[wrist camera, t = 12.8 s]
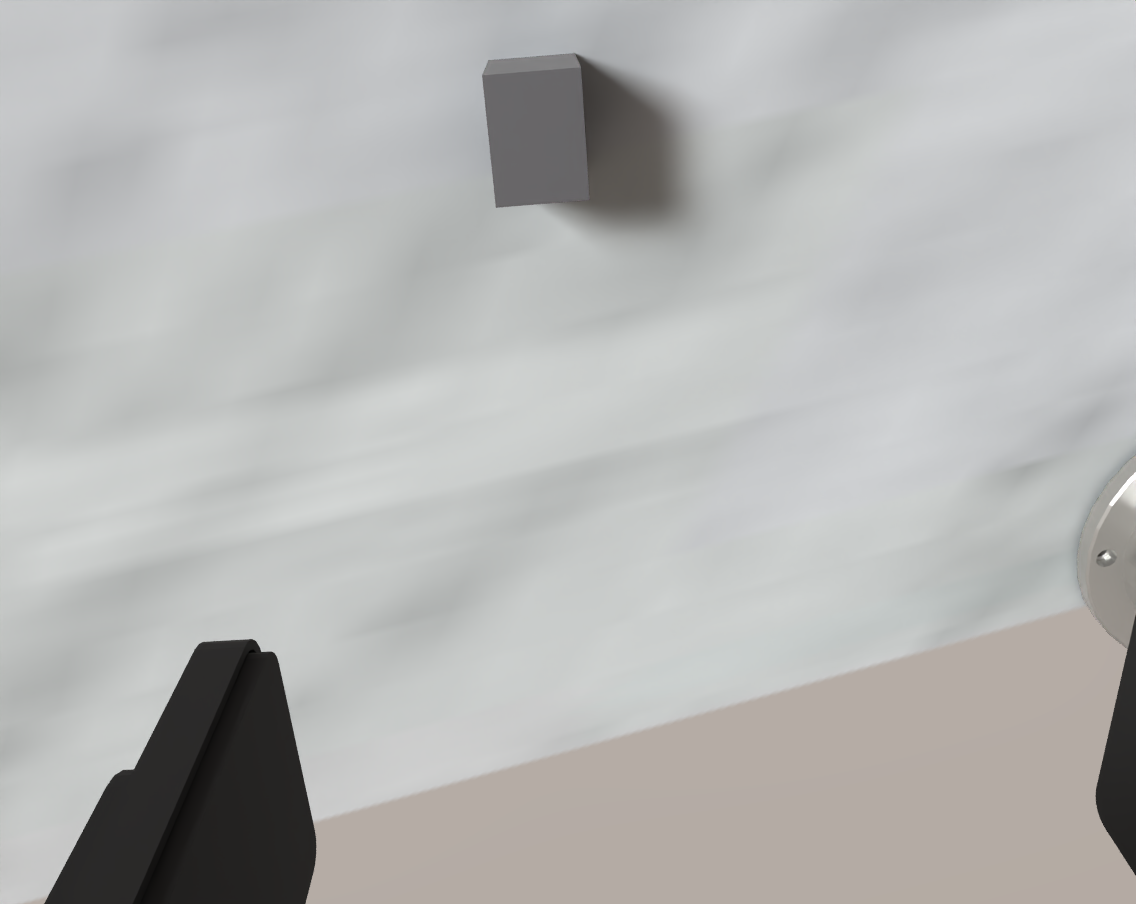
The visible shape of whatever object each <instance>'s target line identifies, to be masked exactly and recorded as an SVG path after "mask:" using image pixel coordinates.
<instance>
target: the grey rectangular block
mask: <svg viewBox="0 0 1136 904" xmlns="http://www.w3.org/2000/svg"><path fill="white" fill-rule="evenodd" d="M482 78H483V88H484V97H485V107H486V116H487V126H488V135H489V145H490V154H491V164H492V174H493V183H494V193H495V202H496V208H497V207H509V206H521V205H534V204H546V203H558V202H571V201H583V200H590V199H589V183H588V168H587V152H586V137H585V121H584V106H583V90H582V75H581V66H580V64H579V62H578V59H577V57H576V55H575V53H573V54H560V55H548V56H536V57H524V58H512V59H499V60H489V61H488V63H487V65H486V68H485V70H484V72H483V75H482Z"/></svg>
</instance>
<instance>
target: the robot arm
mask: <svg viewBox="0 0 1136 904" xmlns="http://www.w3.org/2000/svg"><path fill="white" fill-rule="evenodd" d="M1077 578H1078V581H1079V585H1080V589H1081V593H1082V597H1083V599H1084V601H1085V603H1086V604H1087V606H1088V608H1089V609H1090V611H1091V613H1092V615H1093V616H1094V617H1095V618H1096V620H1097V621H1098V622H1099V623H1100V624H1101V625H1102V627H1103V628H1104V629H1105V630H1106V632H1107V633H1108V634H1109V635H1110V636H1112V637H1113V638H1114V639H1115V640H1117V641H1118V642H1119V643H1120V644H1122V645H1123V646H1124V647H1125V648H1127V649H1128V650H1127V655H1126V659H1125V664H1124V668H1123V672H1122V677H1121V681H1120V686H1119V690H1118V695H1117V699H1116V703H1115V708H1114V712H1113V717H1112V721H1111V726H1110V730H1109V735H1108V739H1107V743H1106V748H1105V752H1104V757H1103V761H1102V765H1101V770H1100V774H1099V779H1098V783H1097V788H1096V805H1097V809H1098V813H1099V816H1100V819H1101V821H1102V823H1103V825H1104V827H1105V828H1106V830H1107V832H1108V833H1109V835H1110V836H1111V838H1112V839H1113V841H1114V843H1115V844H1116V845H1117V847H1118V849H1119V850H1120V852H1121V853H1122V855H1123V857H1124V858H1125V859H1126V861H1127V863H1128V864H1129V866H1130V867H1131V869H1132V870H1133V872H1134V874H1135V875H1136V455H1135V456H1134V457H1133V458H1131V459H1130V460H1129V461H1128V462H1127V463H1126V464H1125V465H1124V466H1123V467H1122V468H1121V469H1120V471H1119V472H1118V473H1117V474H1116V475H1115V476H1114V477H1113V478H1112V479H1111V480H1110V482H1109V483H1108V484H1107V485H1106V487H1105V488H1104V490H1103V492H1102V493H1101V495H1100V496H1099V498H1098V499H1097V501H1096V502H1095V504H1094V505H1093V507H1092V509H1091V511H1090V514H1089V516H1088V518H1087V521H1086V523H1085V525H1084V528H1083V530H1082V534H1081V539H1080V543H1079V548H1078V553H1077ZM315 858H316V836H315V830H314V825H313V820H312V816H311V811H310V806H309V802H308V797H307V792H306V788H305V783H304V778H303V774H302V769H301V765H300V760H299V755H298V751H297V746H296V741H295V737H294V732H293V727H292V723H291V718H290V714H289V709H288V704H287V700H286V695H285V690H284V686H283V681H282V676H281V672H280V667H279V663H278V659H277V657H276V655H275V653H273V652H261V650H260V647H259V645H258V644H257V642H256V641H255V640H253V639H249V640H231V641H213V642H202V643H200V644H199V645H198V646H197V647H196V649H195V650H194V652H193V654H192V656H191V658H190V660H189V662H188V664H187V666H186V668H185V670H184V672H183V674H182V676H181V678H180V680H179V682H178V684H177V686H176V688H175V690H174V692H173V694H172V696H171V698H170V700H169V702H168V704H167V706H166V708H165V710H164V712H163V714H162V715H161V717H160V719H159V721H158V723H157V725H156V727H155V729H154V731H153V733H152V735H151V737H150V739H149V741H148V743H147V745H146V747H145V749H144V751H143V753H142V755H141V757H140V759H139V761H138V763H137V765H136V767H135V769H134V770H122V771H121V772H119V773H118V774H116V775H115V776H114V777H113V778H112V780H111V781H110V783H109V784H108V785H107V787H106V788H105V790H104V792H103V794H102V796H101V798H100V800H99V802H98V804H97V805H96V807H95V809H94V811H93V813H92V815H91V817H90V819H89V821H88V822H87V824H86V826H85V828H84V830H83V832H82V834H81V836H80V837H79V839H78V841H77V843H76V845H75V847H74V849H73V851H72V853H71V854H70V856H69V858H68V860H67V862H66V864H65V866H64V868H63V870H62V871H61V873H60V875H59V877H58V879H57V881H56V883H55V885H54V887H53V888H52V890H51V892H50V894H49V896H48V898H47V900H46V902H45V903H44V904H305V903H306V899H307V895H308V891H309V887H310V883H311V879H312V875H313V871H314V866H315Z"/></svg>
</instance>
